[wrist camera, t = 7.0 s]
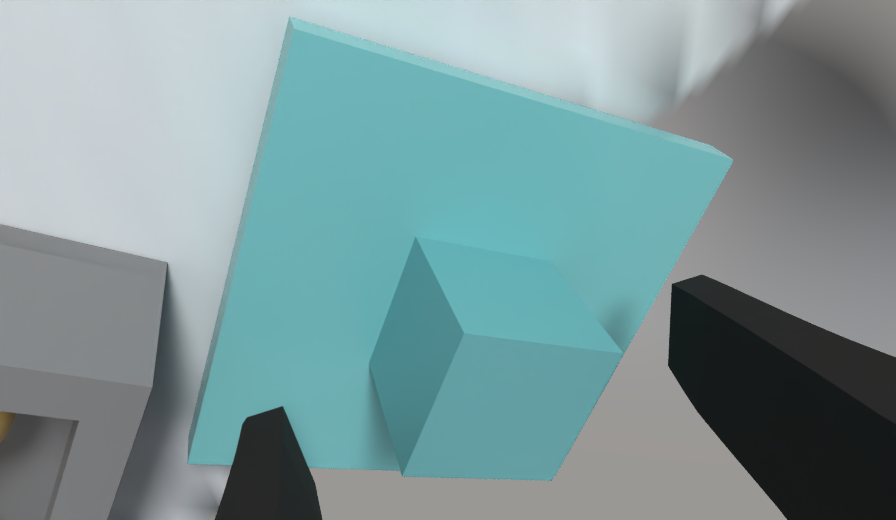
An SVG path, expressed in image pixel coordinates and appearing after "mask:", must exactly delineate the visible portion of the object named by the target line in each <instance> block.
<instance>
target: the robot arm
mask: <svg viewBox="0 0 896 520" xmlns="http://www.w3.org/2000/svg"><path fill="white" fill-rule="evenodd" d="M670 316H671V317H670V337H669V359H668V366H669V368H670V370H671V371H672V373H673V374H674V376H675V378H676V379H677V381H678V383H679V384H680V386H681V387H682V389H683V391H684V392H685V394H686V395H687V397H688V398H689V400H690V401H691V403H692V404H693V406H694V407H695V409H696V410H697V412H698V413H699V414H700V415H701V417H702V418H703V419H704V420H705V422H706V423H707V424H708V425H709V426H710V428H711V429H712V430H713V431H714V432H715V434H716V435H717V436H718V437H719V438H720V440H721V441H722V442H723V443H724V444H725V446H726V447H727V448H728V449H729V450H730V452H731V453H732V454H733V455H734V456H735V457H736V459H737V460H738V461H739V462H740V463H741V464H742V466H743V467H744V468H745V469H746V470H747V472H748V473H749V474H750V475H751V476H752V478H753V479H754V480H755V481H756V482H757V483H758V484H759V486H760V487H761V488H762V489H763V490H764V492H765V493H766V494H767V495H768V496H769V498H770V499H771V500H772V501H773V502H774V503H775V505H776V506H777V507H778V508H779V510H780V511H781V512H782V514H783V515H784V516H785V517H786V518H787V520H896V357H893V356H890V355H888V354H885V353H883V352H880V351H877V350H875V349H872V348H870V347H867V346H864V345H862V344H859V343H857V342H854V341H851V340H849V339H847V338H844V337H841V336H839V335H837V334H835V333H832V332H830V331H827V330H825V329H823V328H820V327H818V326H816V325H813V324H811V323H809V322H807V321H804V320H802V319H800V318H797V317H795V316H793V315H791V314H788V313H786V312H784V311H782V310H780V309H778V308H775V307H773V306H771V305H769V304H767V303H764V302H762V301H760V300H758V299H756V298H753V297H751V296H749V295H747V294H745V293H743V292H741V291H738V290H736V289H734V288H732V287H730V286H727V285H725V284H723V283H721V282H718V281H716V280H714V279H711V278H709V277H707V276H704V275H699V276H696V277H693V278H689V279H686V280H683V281H680V282H677V283H674V284H672V293H671V315H670ZM215 520H322V515H321V511H320V506H319V501H318V496H317V491H316V486H315V482H314V480H313V477H312V475H311V473H310V470H309V468H308V465H307V463H306V460H305V458H304V456H303V453H302V451H301V448H300V446H299V443H298V441H297V439H296V436H295V434H294V431H293V429H292V427H291V424H290V422H289V419H288V417H287V414H286V412H285V410H284V407H283V406H281V407H278V408H275V409H272V410H269V411H265V412H262V413H259V414H256V415H253V416H249V417H247V418H246V419H245V421H244V422H243V424H242V428H241V432H240V437H239V441H238V445H237V449H236V453H235V457H234V460H233V464H232V467H231V471H230V474H229V477H228V481H227V484H226V487H225V491H224V494H223V497H222V500H221V503H220V506H219V509H218V512H217V515H216V518H215Z"/></svg>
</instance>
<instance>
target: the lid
mask: <svg viewBox="0 0 896 520" xmlns="http://www.w3.org/2000/svg"><path fill="white" fill-rule="evenodd" d="M732 162H733V159H732V158H730V157H728V156H727V155H725V154H724V153H721V152H720V151H719V150H717V149H716V148H714V147H712V146H711V145H708V144H705V143H702V142H698V141H695V140H692V139H688V138H685V137H682V136H679V135H675V134H672V133H669V132H665V131H662V130H659V129H655V128H652V127H649V126H646V125H643V124H639V123H636V122H633V121H629V120H626V119H623V118H620V117H616V116H613V115H610V114H607V113H603V112H600V111H597V110H593V109H590V108H587V107H584V106H580V105H577V104H574V103H570V102H567V101H564V100H561V99H557V98H554V97H551V96H548V95H544V94H541V93H538V92H534V91H531V90H528V89H525V88H521V87H518V86H515V85H511V84H508V83H505V82H502V81H498V80H495V79H492V78H489V77H485V76H482V75H479V74H475V73H472V72H469V71H466V70H462V69H459V68H456V67H453V66H449V65H446V64H443V63H439V62H436V61H433V60H430V59H426V58H423V57H420V56H416V55H413V54H410V53H407V52H403V51H400V50H397V49H394V48H390V47H387V46H384V45H380V44H377V43H374V42H371V41H367V40H364V39H361V38H357V37H354V36H351V35H348V34H344V33H341V32H338V31H335V30H331V29H328V28H325V27H321V26H318V25H315V24H312V23H308V22H305V21H302V20H298V19H295V18H292V17H289V21H288V25H287V29H286V33H285V37H284V41H283V45H282V50H281V54H280V58H279V62H278V66H277V70H276V75H275V79H274V83H273V87H272V91H271V95H270V99H269V104H268V108H267V112H266V116H265V120H264V124H263V129H262V133H261V137H260V141H259V145H258V149H257V154H256V158H255V162H254V166H253V170H252V174H251V178H250V183H249V187H248V191H247V195H246V199H245V203H244V208H243V212H242V216H241V220H240V224H239V228H238V232H237V237H236V241H235V245H234V249H233V253H232V257H231V262H230V266H229V270H228V274H227V278H226V282H225V286H224V291H223V295H222V299H221V303H220V307H219V311H218V316H217V320H216V324H215V328H214V332H213V336H212V340H211V345H210V349H209V353H208V357H207V361H206V365H205V370H204V374H203V378H202V382H201V386H200V390H199V395H198V399H197V403H196V407H195V411H194V415H193V419H192V424H191V428H190V432H189V438H188V462H187V464H205V465H232V464H233V460H234V457H235V453H236V449H237V445H238V441H239V437H240V432H241V428H242V424H243V422H244V421H245V419H246V418H247V417H249V416H253V415H256V414H259V413H262V412H265V411H269V410H272V409H275V408H278V407H281V406H283V407H284V410H285V412H286V414H287V417H288V419H289V422H290V424H291V427H292V429H293V431H294V434H295V436H296V439H297V441H298V443H299V446H300V448H301V451H302V453H303V456H304V458H305V460H306V463H307V465H308V468H331V469H332V468H333V469H363V470H396V471H401V474H402V476H406V477H407V476H408V477H440V478H476V479H511V480H548V481H549V480H550V481H551V480H552V479H553V478H554V476H555V475H556V474H557V472H558V470H559V468H560V467H561V465H562V463H563V461H564V459H565V458H566V456H567V454H568V452H569V450H570V449H571V447H572V445H573V444H574V442H575V440H576V438H577V436H578V435H579V433H580V431H581V429H582V428H583V426H584V424H585V422H586V421H587V419H588V417H589V415H590V413H591V412H592V410H593V408H594V406H595V405H596V403H597V401H598V399H599V397H600V396H601V394H602V392H603V390H604V389H605V387H606V385H607V383H608V382H609V380H610V378H611V376H612V375H613V373H614V371H615V369H616V367H617V366H618V364H619V362H620V360H621V359H622V357H623V355H624V353H625V351H626V350H627V348H628V346H629V344H630V343H631V341H632V339H633V337H634V335H635V334H636V332H637V330H638V328H639V327H640V325H641V323H642V321H643V320H644V318H645V316H646V314H647V313H648V311H649V309H650V307H651V305H652V304H653V302H654V300H655V298H656V297H657V295H658V293H659V291H660V290H661V288H662V286H663V284H664V282H665V281H666V279H667V277H668V275H669V274H670V272H671V270H672V268H673V267H674V265H675V263H676V261H677V259H678V258H679V256H680V254H681V252H682V251H683V249H684V247H685V245H686V243H687V242H688V240H689V238H690V236H691V235H692V233H693V231H694V229H695V228H696V226H697V224H698V222H699V220H700V218H701V217H702V215H703V213H704V212H705V210H706V208H707V206H708V205H709V203H710V201H711V199H712V198H713V196H714V194H715V192H716V190H717V189H718V187H719V185H720V183H721V182H722V180H723V178H724V176H725V175H726V173H727V171H728V169H729V167H730V166H731V164H732Z"/></svg>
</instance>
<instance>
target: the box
mask: <svg viewBox="0 0 896 520" xmlns="http://www.w3.org/2000/svg"><path fill="white" fill-rule="evenodd" d="M166 270H167V262H162V261H158V260H154V259H149V258H145V257H140V256H136V255H132V254H127V253H123V252H118V251H114V250H110V249H105V248H101V247H97V246H92V245H88V244H83V243H79V242H75V241H70V240H66V239H61V238H57V237H53V236H48V235H44V234H39V233H35V232H31V231H26V230H22V229H18V228H13V227H9V226H4V225H0V520H107V519H108V516H109V513H110V510H111V507H112V504H113V501H114V498H115V495H116V492H117V489H118V486H119V484H120V481H121V478H122V475H123V472H124V469H125V466H126V463H127V460H128V457H129V454H130V451H131V449H132V446H133V443H134V440H135V437H136V434H137V431H138V428H139V425H140V422H141V419H142V416H143V414H144V411H145V408H146V405H147V402H148V399H149V396H150V393H151V390H152V387H153V379H154V370H155V362H156V354H157V345H158V337H159V329H160V320H161V312H162V304H163V295H164V287H165V279H166Z"/></svg>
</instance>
